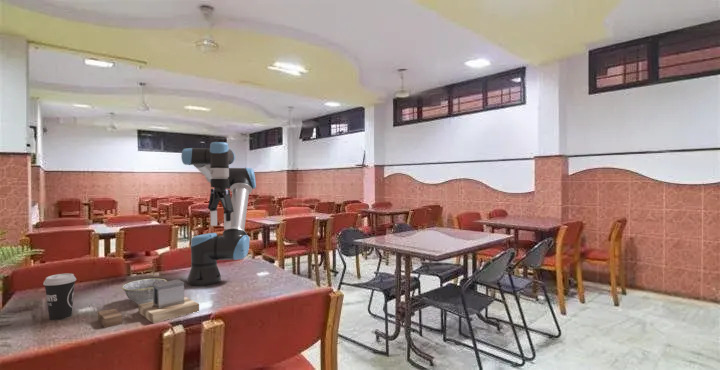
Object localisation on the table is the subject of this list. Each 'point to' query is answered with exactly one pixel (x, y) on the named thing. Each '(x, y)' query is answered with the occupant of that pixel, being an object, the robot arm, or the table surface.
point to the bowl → (141, 290)
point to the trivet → (167, 310)
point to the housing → (168, 293)
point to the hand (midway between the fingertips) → (220, 227)
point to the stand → (109, 318)
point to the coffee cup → (60, 295)
